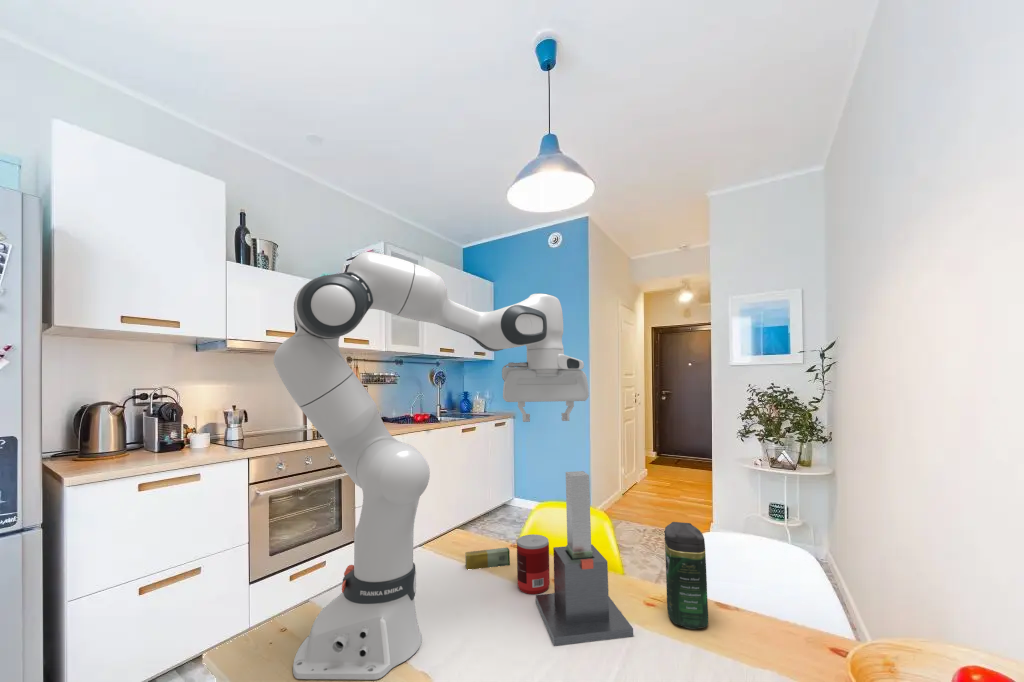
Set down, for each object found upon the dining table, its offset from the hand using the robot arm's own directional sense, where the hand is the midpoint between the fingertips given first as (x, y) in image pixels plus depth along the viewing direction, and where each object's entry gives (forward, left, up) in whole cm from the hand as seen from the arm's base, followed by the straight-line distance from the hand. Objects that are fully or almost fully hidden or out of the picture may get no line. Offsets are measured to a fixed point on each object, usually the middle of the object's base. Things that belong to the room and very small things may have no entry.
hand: (546, 421), depth 100 cm
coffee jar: (+27, -12, -41) cm, 50 cm away
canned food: (-2, +7, -41) cm, 41 cm away
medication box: (-12, +21, -41) cm, 47 cm away
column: (+5, -8, -33) cm, 34 cm away
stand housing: (+5, -8, -40) cm, 41 cm away
